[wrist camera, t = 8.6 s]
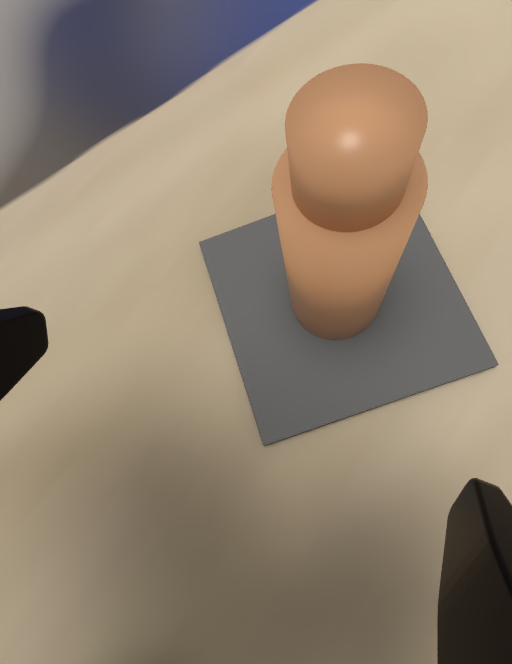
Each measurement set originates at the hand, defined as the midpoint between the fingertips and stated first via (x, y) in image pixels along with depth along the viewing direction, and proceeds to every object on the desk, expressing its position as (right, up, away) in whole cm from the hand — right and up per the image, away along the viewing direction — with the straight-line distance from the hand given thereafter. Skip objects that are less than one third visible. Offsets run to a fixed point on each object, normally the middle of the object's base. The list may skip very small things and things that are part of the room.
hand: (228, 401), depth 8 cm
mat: (+5, +3, +14) cm, 15 cm away
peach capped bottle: (+5, +3, +14) cm, 15 cm away
